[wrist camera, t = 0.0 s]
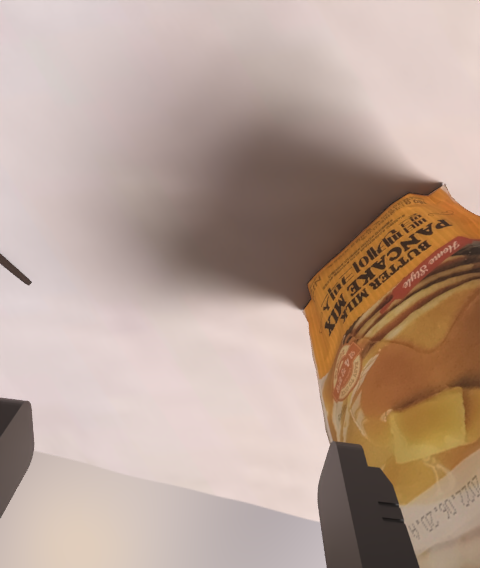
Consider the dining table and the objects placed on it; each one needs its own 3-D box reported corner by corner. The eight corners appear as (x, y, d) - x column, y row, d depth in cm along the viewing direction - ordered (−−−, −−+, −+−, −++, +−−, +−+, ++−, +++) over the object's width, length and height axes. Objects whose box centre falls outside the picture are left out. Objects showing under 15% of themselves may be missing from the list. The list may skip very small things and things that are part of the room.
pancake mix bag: (489, 207, 39) (917, 478, 14) (324, 345, 45) (410, 698, 20) (440, 152, 37) (830, 349, 12) (275, 304, 44) (303, 637, 18)
